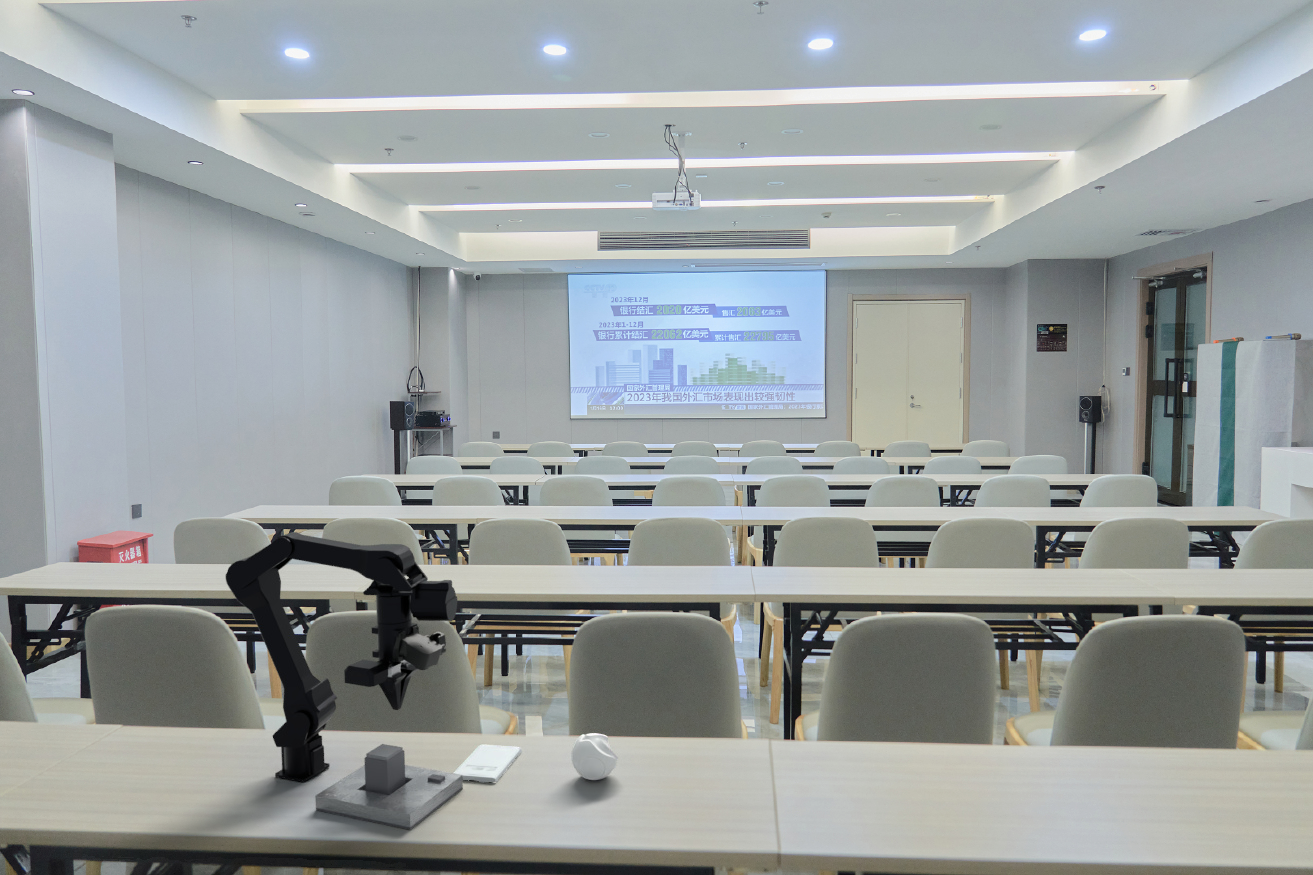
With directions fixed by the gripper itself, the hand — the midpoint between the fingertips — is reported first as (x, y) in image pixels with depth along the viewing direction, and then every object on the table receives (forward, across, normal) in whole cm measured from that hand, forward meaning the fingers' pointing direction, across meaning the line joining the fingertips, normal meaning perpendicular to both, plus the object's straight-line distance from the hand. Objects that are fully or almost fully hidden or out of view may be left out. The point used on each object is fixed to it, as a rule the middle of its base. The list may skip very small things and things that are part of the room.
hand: (396, 709), depth 147 cm
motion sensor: (+12, +12, -32) cm, 36 cm away
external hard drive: (+12, +9, -12) cm, 19 cm away
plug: (+11, -8, -4) cm, 14 cm away
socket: (+12, -8, -5) cm, 15 cm away
